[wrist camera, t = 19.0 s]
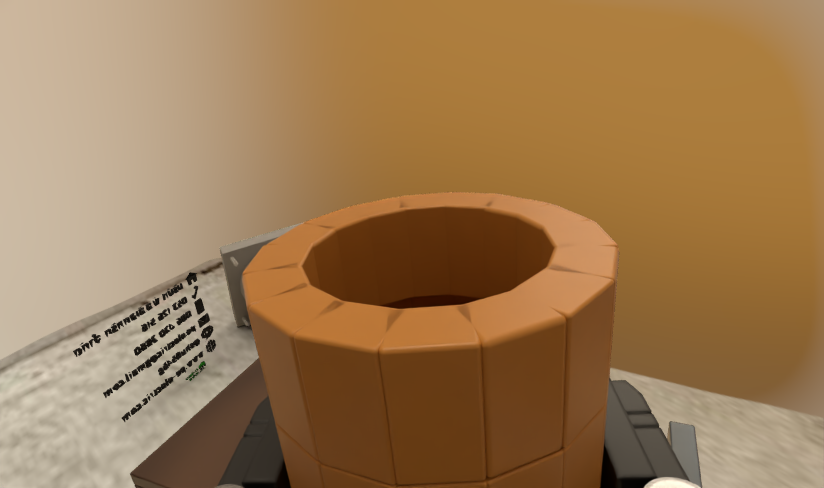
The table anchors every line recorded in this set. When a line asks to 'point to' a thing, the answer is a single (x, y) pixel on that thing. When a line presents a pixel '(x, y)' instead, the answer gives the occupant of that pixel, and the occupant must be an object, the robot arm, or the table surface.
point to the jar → (438, 343)
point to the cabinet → (205, 438)
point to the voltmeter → (234, 266)
